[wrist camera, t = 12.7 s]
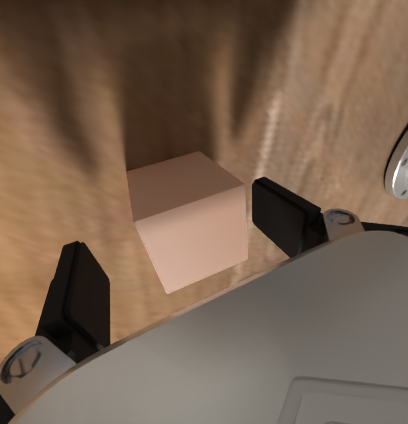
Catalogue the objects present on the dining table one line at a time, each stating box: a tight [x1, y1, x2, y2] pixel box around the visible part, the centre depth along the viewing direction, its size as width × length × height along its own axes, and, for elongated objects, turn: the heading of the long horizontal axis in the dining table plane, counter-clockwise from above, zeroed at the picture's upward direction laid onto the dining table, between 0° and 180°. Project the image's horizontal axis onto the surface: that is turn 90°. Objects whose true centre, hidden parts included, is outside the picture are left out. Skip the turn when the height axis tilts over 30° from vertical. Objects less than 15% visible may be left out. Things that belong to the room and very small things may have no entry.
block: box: [126, 151, 248, 294], centre depth 12 cm, size 5×5×6 cm
